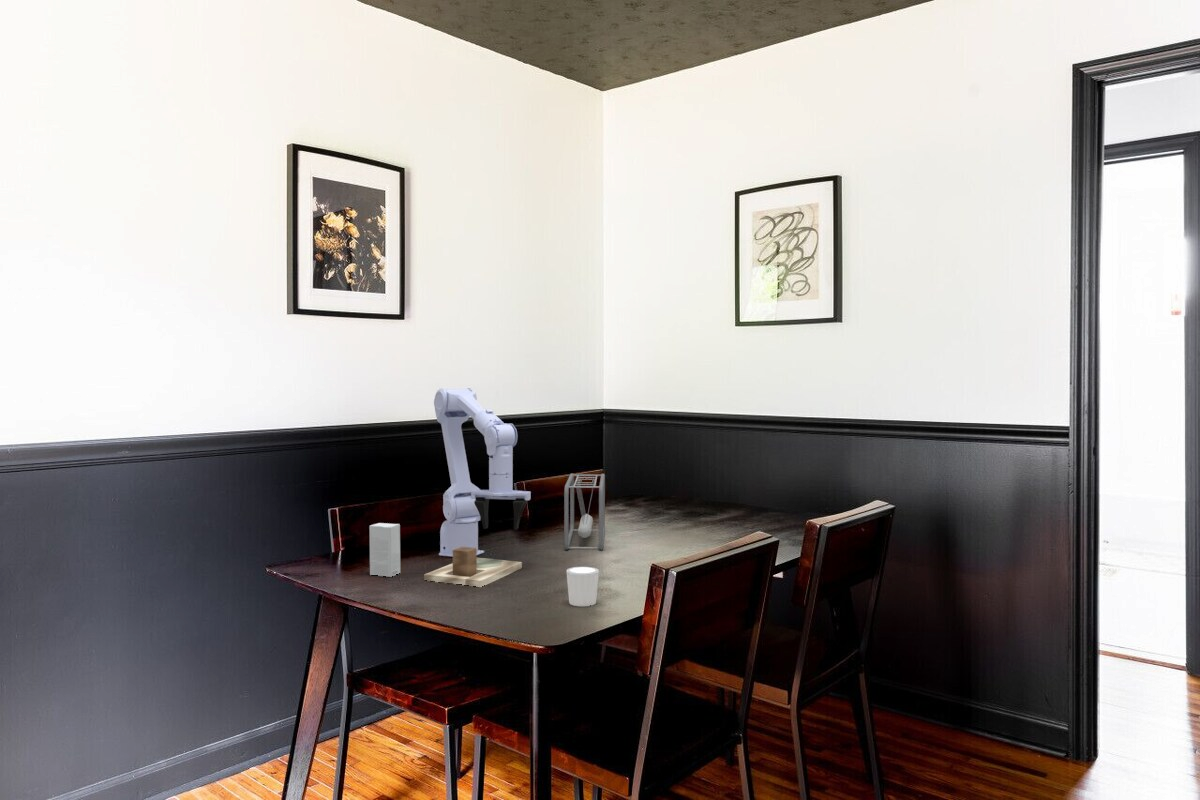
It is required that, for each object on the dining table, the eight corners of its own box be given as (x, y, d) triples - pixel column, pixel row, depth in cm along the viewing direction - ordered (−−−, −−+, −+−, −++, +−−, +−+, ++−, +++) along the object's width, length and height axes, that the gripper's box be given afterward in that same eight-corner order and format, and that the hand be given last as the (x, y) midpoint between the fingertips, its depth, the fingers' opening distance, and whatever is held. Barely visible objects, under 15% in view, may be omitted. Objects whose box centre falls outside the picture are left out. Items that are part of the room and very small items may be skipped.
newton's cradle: (570, 530, 259) (570, 472, 258) (604, 530, 259) (604, 472, 258) (564, 551, 229) (564, 486, 229) (602, 551, 229) (603, 486, 228)
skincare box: (401, 573, 204) (400, 524, 203) (391, 577, 200) (390, 527, 199) (379, 571, 206) (378, 522, 205) (368, 575, 202) (368, 525, 201)
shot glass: (565, 598, 182) (565, 566, 182) (597, 598, 183) (597, 565, 183) (567, 607, 175) (567, 574, 175) (600, 606, 176) (600, 573, 176)
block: (452, 579, 198) (452, 550, 198) (461, 576, 202) (461, 546, 201) (467, 581, 197) (467, 551, 196) (476, 577, 200) (476, 548, 200)
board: (424, 580, 197) (424, 573, 197) (469, 562, 215) (469, 556, 215) (480, 587, 191) (480, 579, 191) (521, 568, 210) (521, 561, 210)
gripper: (467, 474, 205) (467, 530, 206) (526, 476, 203) (526, 532, 204) (475, 471, 212) (475, 525, 213) (532, 472, 210) (532, 527, 211)
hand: (500, 528), depth 209 cm, fingers open, 7 cm apart
